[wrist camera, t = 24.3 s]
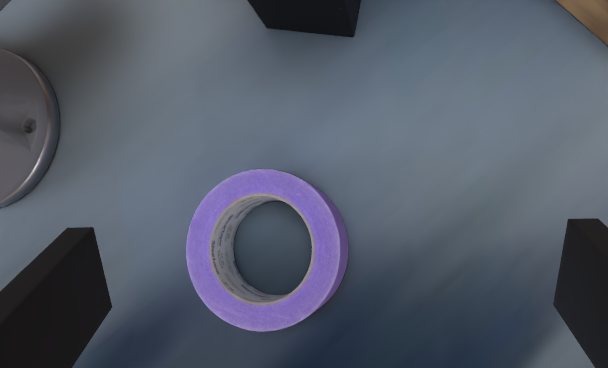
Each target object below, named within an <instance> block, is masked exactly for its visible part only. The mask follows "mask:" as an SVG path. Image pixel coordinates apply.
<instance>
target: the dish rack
mask: <svg viewBox="0 0 608 368" xmlns="http://www.w3.org/2000/svg"><path fill="white" fill-rule="evenodd" d="M556 1H557V2H558V3H559V4H561V5H562V6H563V7H564V8H565V9H566V10H567V11H569V12H570V13H571V14H572V15H573V16H574V17H575V18H577V19H578V20H579V21H580V22H581V23H582V24H584V25H585V26H586V27H587V28H588V29H589V30H590V31H592V32H593V33H594V34H595V35H596V36H597V37H598V38H600V39H601V40H602V41H603V42H604V43H605V44H606V45H608V0H556Z"/></svg>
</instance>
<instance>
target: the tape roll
mask: <svg viewBox="0 0 608 368" xmlns="http://www.w3.org/2000/svg"><path fill="white" fill-rule="evenodd" d="M271 201H284V202H286V203H287V204H289V205H290V206H292V207H293V208H294V209H295V210H296V211H297V212H298V213H299V214H300V215H301V217H302V218H303V220H304V221H305V223H306V225H307V227H308V230H309V233H310V236H311V241H312V257H311V263H310V266H309V269H308V272H307V274H306V276H305V277H304V279H303V281H302V282H301V283H300V285H299V286H298V287H297V288H296V289H295V290H294V291H292V292H291V293H290V294H285V295H271V294H267V293H263V292H261V291H259V290H256V289H255V288H253V287H252V286H251V285H250V284H249V283H248V282H247V281H246V280H245V279H244V278H243V277H242V275H241V274H240V272H239V270H238V268H237V266H236V263H235V259H234V251H233V246H234V238H235V234H236V231H237V228H238V226H239V224H240V222H241V221H242V219H243V218H244V217H245V216H246V214H247V213H249V212H250V211H251V210H252V209H254V208H255V207H257V206H258V205H260V204H263V203H266V202H271ZM348 250H349V244H348V237H347V231H346V227H345V224H344V221H343V219H342V217H341V215H340V213H339V211H338V209H337V208H336V206H335V205H334V204H333V202H332V201H331V200H330V199H329V198H328V197H327V196H326V195H325V194H324V193H323V192H322V191H320V190H319V189H318V188H316V187H315V186H313V185H311V184H309V183H307V182H305V181H304V180H302V179H300V178H298V177H296V176H294V175H292V174H289V173H286V172H283V171H279V170H273V169H254V170H248V171H244V172H241V173H238V174H235V175H233V176H231V177H229V178H227V179H226V180H224V181H222V182H221V183H220V184H218V185H217V186H216V187H214V188H213V189H212V190H211V191H210V192H209V193H208V194H207V195H206V197H205V198H204V199H203V200H202V202H201V203H200V205H199V206H198V208H197V210H196V212H195V214H194V216H193V218H192V221H191V224H190V227H189V231H188V236H187V244H186V258H187V266H188V270H189V274H190V278H191V281H192V283H193V285H194V287H195V289H196V291H197V293H198V295H199V296H200V298H201V299H202V301H203V302H204V303H205V304H206V306H207V307H208V308H209V309H210V310H211V311H212V312H213V313H214V314H216V315H217V316H218V317H220V318H221V319H223V320H224V321H226V322H228V323H230V324H232V325H234V326H237V327H240V328H243V329H246V330H252V331H274V330H280V329H283V328H287V327H289V326H292V325H294V324H296V323H298V322H300V321H302V320H303V319H305V318H306V317H308V316H309V315H311V314H312V313H313V312H315V311H316V310H317V309H319V308H320V307H321V306H323V305H324V304H325V303H326V302H327V301H328V300H329V299H330V298H331V297H332V296H333V294H334V293H335V292H336V290H337V289H338V287H339V285H340V283H341V281H342V279H343V276H344V274H345V271H346V267H347V261H348Z"/></svg>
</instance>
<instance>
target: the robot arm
mask: <svg viewBox="0 0 608 368" xmlns="http://www.w3.org/2000/svg"><path fill="white" fill-rule="evenodd" d="M10 1H11V0H0V11H1V10H2V9H3V8H4V7H5V6H6V5H7V4H8V3H9V2H10ZM59 125H60V122H59V109H58V104H57V100H56V97H55V94H54V91H53V89H52V87H51V85H50V83H49V81H48V80H47V78H46V77H45V75H44V74H43V73H42V72H41V71H40V70H39V69H38V68H37V67H36V66H35V65H34V64H32V63H31V62H30V61H28V60H26V59H24V58H22V57H20V56H18V55H16V54H14V53H11V52H9V51H6V50H4V49H0V208H1V207H4V206H7V205H9V204H11V203H14V202H15V201H17V200H19V199H20V198H22V197H23V196H24V195H26V194H27V193H28V192H29V191H30V190H31V189H32V188H33V187H34V186H35V185H36V184H37V183H38V182H39V180H40V179H41V178H42V177H43V175H44V173H45V172H46V170H47V168H48V167H49V165H50V163H51V160H52V158H53V156H54V153H55V149H56V146H57V142H58V136H59ZM553 305H554V306H555V308H556V309H557V311H558V312H559V314H560V315H561V317H562V318H563V320H564V321H565V323H566V324H567V326H568V327H569V329H570V330H571V332H572V333H573V335H574V336H575V338H576V339H577V341H578V342H579V344H580V345H581V347H582V348H583V350H584V352H585V353H586V355H587V356H588V358H589V359H590V361H591V362H592V364H593V365H594V367H595V368H608V228H607V227H606V226H605V225H604V224H603V223H602V222H601V221H600V220H599V219H568V223H567V228H566V234H565V240H564V246H563V251H562V257H561V263H560V269H559V274H558V280H557V286H556V292H555V297H554V303H553ZM111 308H112V305H111V300H110V296H109V292H108V288H107V283H106V279H105V275H104V271H103V266H102V262H101V258H100V254H99V250H98V245H97V241H96V237H95V233H94V228H93V227H86V228H67V229H66V230H65V231H64V232H62V233H61V234H60V235H59V236H58V237H57V238H56V239H55V240H54V241H53V242H52V243H51V244H50V245H49V246H48V247H47V248H46V249H45V250H44V251H42V252H41V253H40V254H39V255H38V256H37V257H36V258H35V259H34V260H33V261H32V262H31V263H30V264H29V265H28V266H27V267H26V268H25V269H24V270H22V271H21V272H20V273H19V274H18V275H17V276H16V277H15V278H14V279H13V280H12V281H11V282H10V283H9V284H8V285H7V286H6V287H5V288H4V289H3V290H1V291H0V368H72V367H73V365H74V364H75V362H76V361H77V359H78V358H79V356H80V355H81V353H82V352H83V350H84V349H85V347H86V346H87V344H88V343H89V341H90V340H91V338H92V337H93V335H94V334H95V332H96V331H97V329H98V328H99V326H100V325H101V323H102V322H103V320H104V319H105V317H106V316H107V314H108V313H109V311H110V310H111Z"/></svg>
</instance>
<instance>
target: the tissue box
mask: <svg viewBox="0 0 608 368" xmlns="http://www.w3.org/2000/svg"><path fill="white" fill-rule="evenodd" d="M248 2H249V3H250V4H251V6H252V7H253V9H254V10H255V12H256V13H257V15H258V16H259V17H260V19H261V20H262V22H263V23H264V25H265V26H266V27H267V28H273V29H282V30H291V31H300V32H310V33H319V34H329V35H338V36H348V37H354V34H355V29H356V24H357V18H358V13H359V7H360V2H361V0H248Z"/></svg>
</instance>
